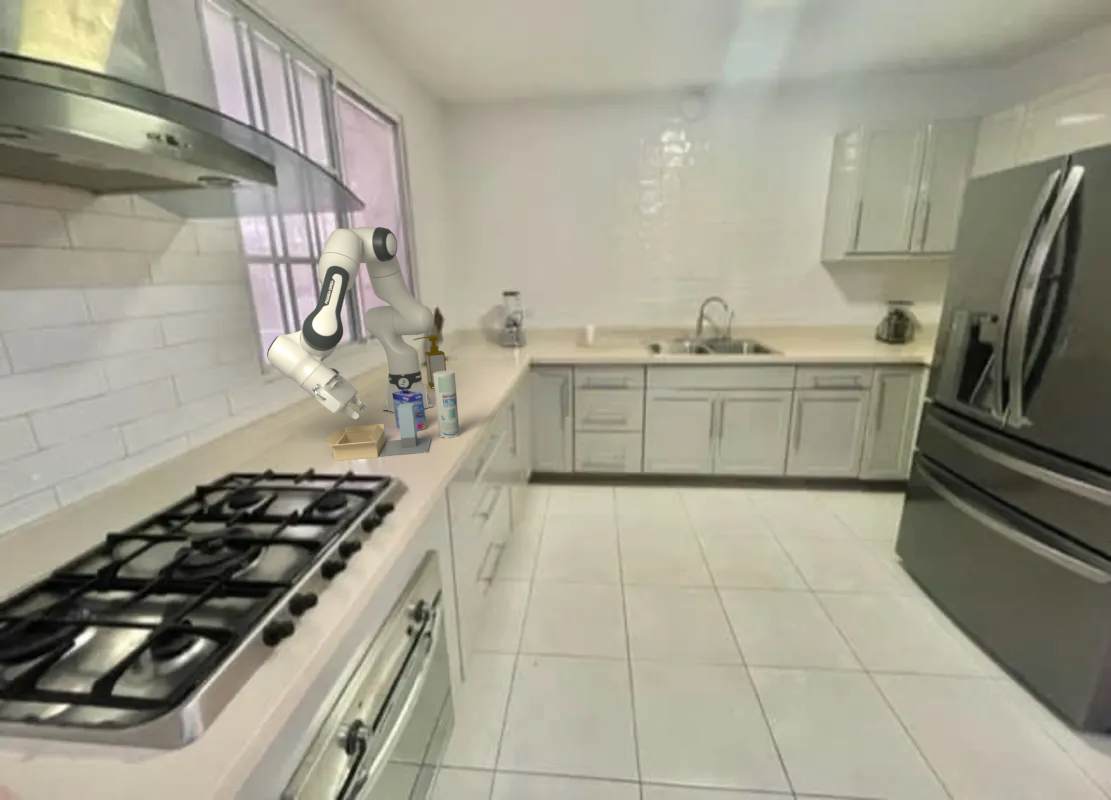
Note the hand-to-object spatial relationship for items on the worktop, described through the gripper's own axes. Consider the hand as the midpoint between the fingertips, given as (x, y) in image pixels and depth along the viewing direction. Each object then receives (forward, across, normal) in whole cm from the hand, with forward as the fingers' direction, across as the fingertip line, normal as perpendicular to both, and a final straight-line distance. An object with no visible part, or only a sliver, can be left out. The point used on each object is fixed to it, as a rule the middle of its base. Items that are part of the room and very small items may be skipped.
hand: (361, 413), depth 155 cm
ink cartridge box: (+16, +21, +1) cm, 26 cm away
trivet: (+16, 0, 0) cm, 16 cm away
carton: (+7, 0, +9) cm, 11 cm away
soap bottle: (+17, +90, -1) cm, 92 cm away
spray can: (+25, +9, -8) cm, 28 cm away
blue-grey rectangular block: (+16, 0, -1) cm, 16 cm away
